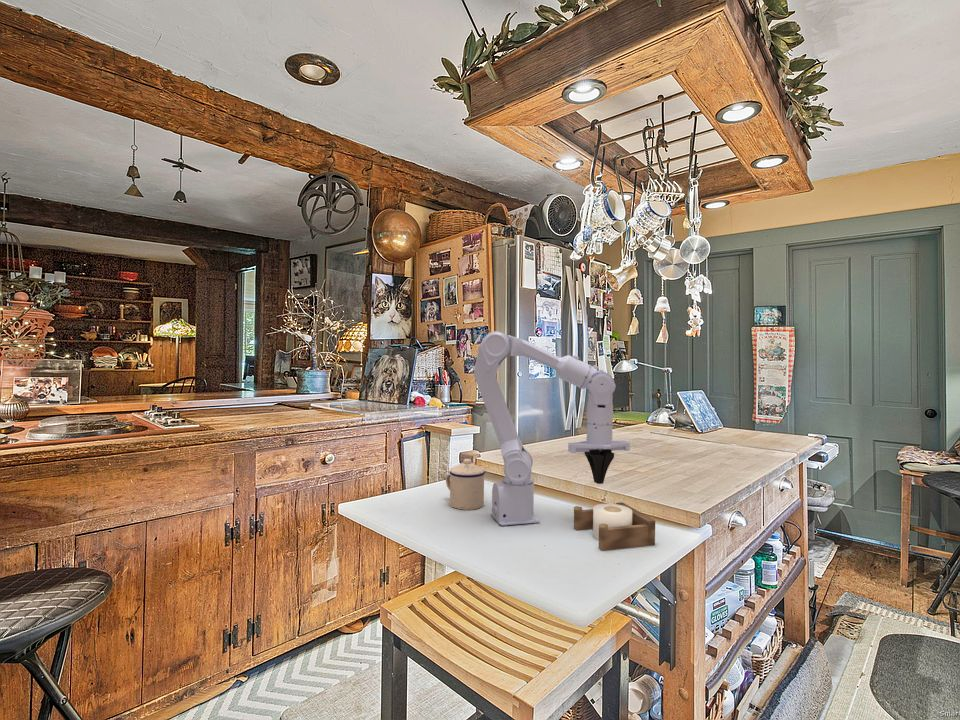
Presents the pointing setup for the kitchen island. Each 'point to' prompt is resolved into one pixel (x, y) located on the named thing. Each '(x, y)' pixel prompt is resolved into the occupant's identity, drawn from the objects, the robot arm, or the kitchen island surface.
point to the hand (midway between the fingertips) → (598, 482)
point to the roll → (610, 516)
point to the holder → (618, 530)
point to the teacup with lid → (466, 486)
